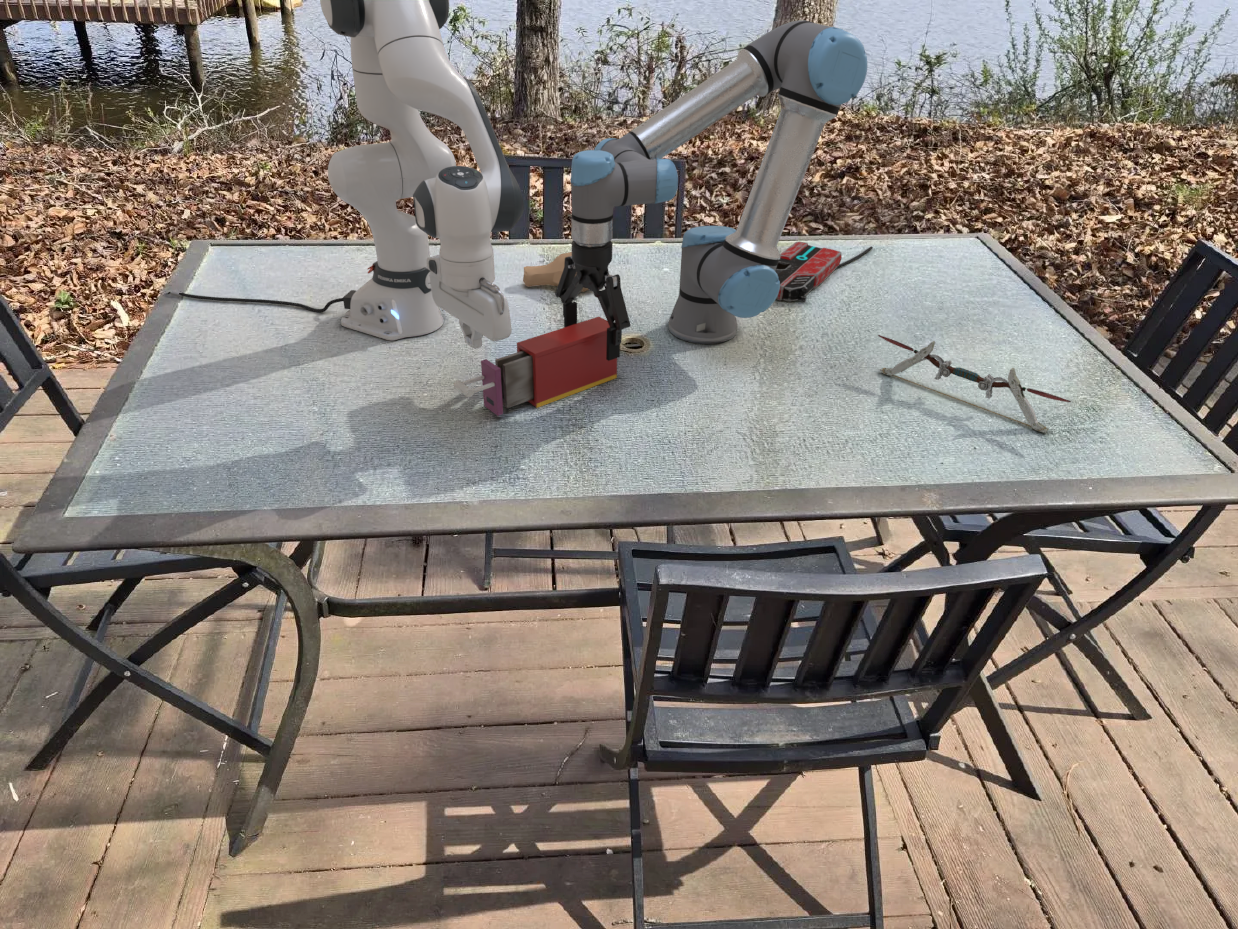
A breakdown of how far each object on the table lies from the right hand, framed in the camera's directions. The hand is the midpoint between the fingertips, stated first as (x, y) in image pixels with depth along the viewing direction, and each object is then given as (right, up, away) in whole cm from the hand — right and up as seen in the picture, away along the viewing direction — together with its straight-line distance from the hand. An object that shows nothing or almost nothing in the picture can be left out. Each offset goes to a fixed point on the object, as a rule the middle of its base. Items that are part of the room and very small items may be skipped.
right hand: (591, 345), depth 172 cm
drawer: (-14, -11, -6) cm, 19 cm away
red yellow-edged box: (-5, -8, +1) cm, 9 cm away
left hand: (-20, -2, -19) cm, 27 cm away
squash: (-8, +20, +43) cm, 48 cm away
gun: (+49, +24, +52) cm, 75 cm away
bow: (+72, -11, 0) cm, 73 cm away
